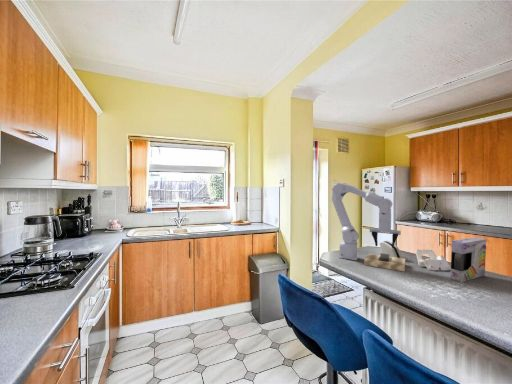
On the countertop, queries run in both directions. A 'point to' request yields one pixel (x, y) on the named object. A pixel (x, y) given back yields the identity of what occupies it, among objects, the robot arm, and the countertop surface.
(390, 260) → the well block
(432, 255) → the mounting bracket
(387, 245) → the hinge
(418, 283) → the countertop surface
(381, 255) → the t bracket
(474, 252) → the cake pan box
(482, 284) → the countertop surface
